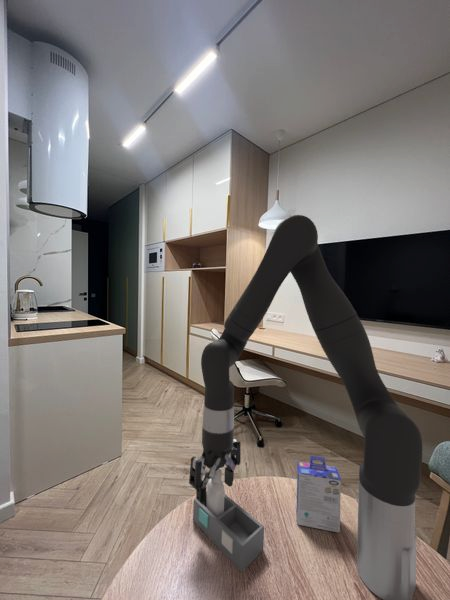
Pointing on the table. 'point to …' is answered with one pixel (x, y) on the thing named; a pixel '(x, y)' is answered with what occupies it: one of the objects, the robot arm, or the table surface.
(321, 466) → the ink cartridge box
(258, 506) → the table surface
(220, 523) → the block
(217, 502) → the eye dropper bottle
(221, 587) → the table surface
